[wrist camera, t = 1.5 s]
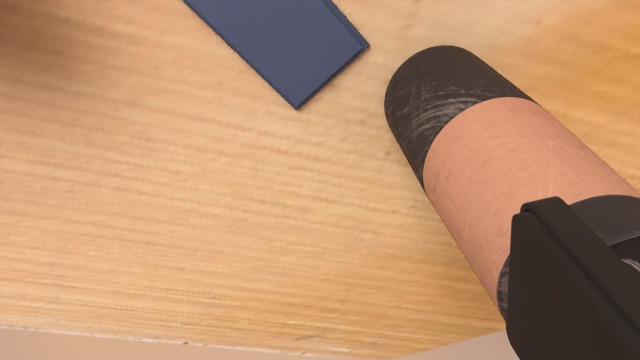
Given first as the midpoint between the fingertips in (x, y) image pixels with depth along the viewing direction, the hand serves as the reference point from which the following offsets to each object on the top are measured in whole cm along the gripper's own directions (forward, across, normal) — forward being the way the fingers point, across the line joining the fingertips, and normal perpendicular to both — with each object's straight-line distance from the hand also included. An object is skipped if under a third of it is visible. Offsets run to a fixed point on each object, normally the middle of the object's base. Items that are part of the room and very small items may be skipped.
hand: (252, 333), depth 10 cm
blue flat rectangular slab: (+27, -2, +2) cm, 27 cm away
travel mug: (+27, -13, +10) cm, 32 cm away
